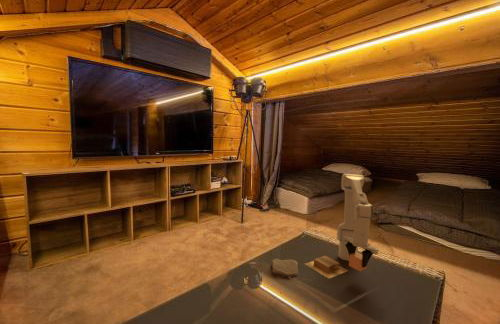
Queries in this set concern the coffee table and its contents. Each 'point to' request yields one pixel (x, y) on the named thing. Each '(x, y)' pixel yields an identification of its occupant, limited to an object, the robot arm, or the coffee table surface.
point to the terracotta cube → (356, 261)
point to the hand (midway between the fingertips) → (357, 263)
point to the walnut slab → (326, 264)
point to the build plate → (329, 275)
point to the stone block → (285, 267)
